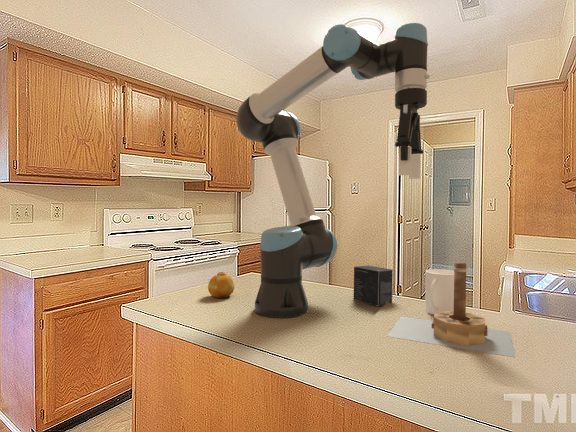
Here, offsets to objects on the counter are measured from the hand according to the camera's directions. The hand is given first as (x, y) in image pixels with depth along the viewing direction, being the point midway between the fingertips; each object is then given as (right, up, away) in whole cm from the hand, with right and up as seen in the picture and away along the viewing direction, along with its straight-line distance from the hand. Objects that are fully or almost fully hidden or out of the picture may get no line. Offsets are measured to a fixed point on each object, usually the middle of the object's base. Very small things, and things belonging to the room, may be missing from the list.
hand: (410, 177), depth 93 cm
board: (+5, -37, -10) cm, 39 cm away
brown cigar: (+7, -36, -12) cm, 38 cm away
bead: (+7, -36, -12) cm, 38 cm away
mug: (+9, -37, +6) cm, 38 cm away
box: (-4, -36, +22) cm, 43 cm away
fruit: (-52, -36, +28) cm, 70 cm away
